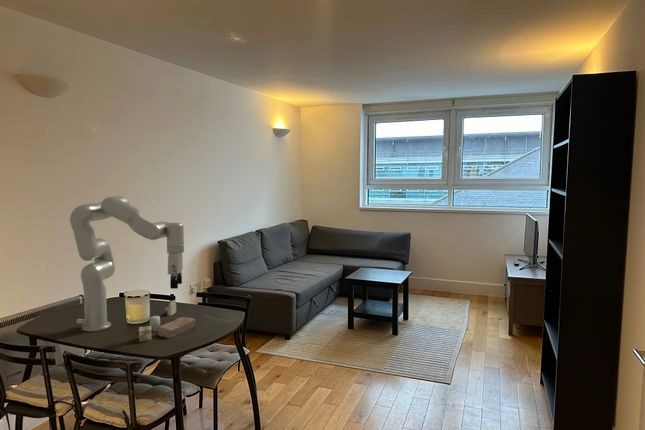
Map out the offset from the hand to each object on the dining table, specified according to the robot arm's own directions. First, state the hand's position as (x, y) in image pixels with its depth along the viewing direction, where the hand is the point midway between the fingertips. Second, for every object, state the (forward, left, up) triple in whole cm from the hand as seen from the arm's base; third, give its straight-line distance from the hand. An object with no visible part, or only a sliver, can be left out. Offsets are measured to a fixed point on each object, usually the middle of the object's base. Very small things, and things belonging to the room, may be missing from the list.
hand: (176, 285), depth 209 cm
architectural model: (-9, +27, -23) cm, 36 cm away
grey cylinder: (-11, +3, -22) cm, 25 cm away
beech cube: (-12, -9, -22) cm, 27 cm away
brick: (0, 0, -22) cm, 22 cm away
